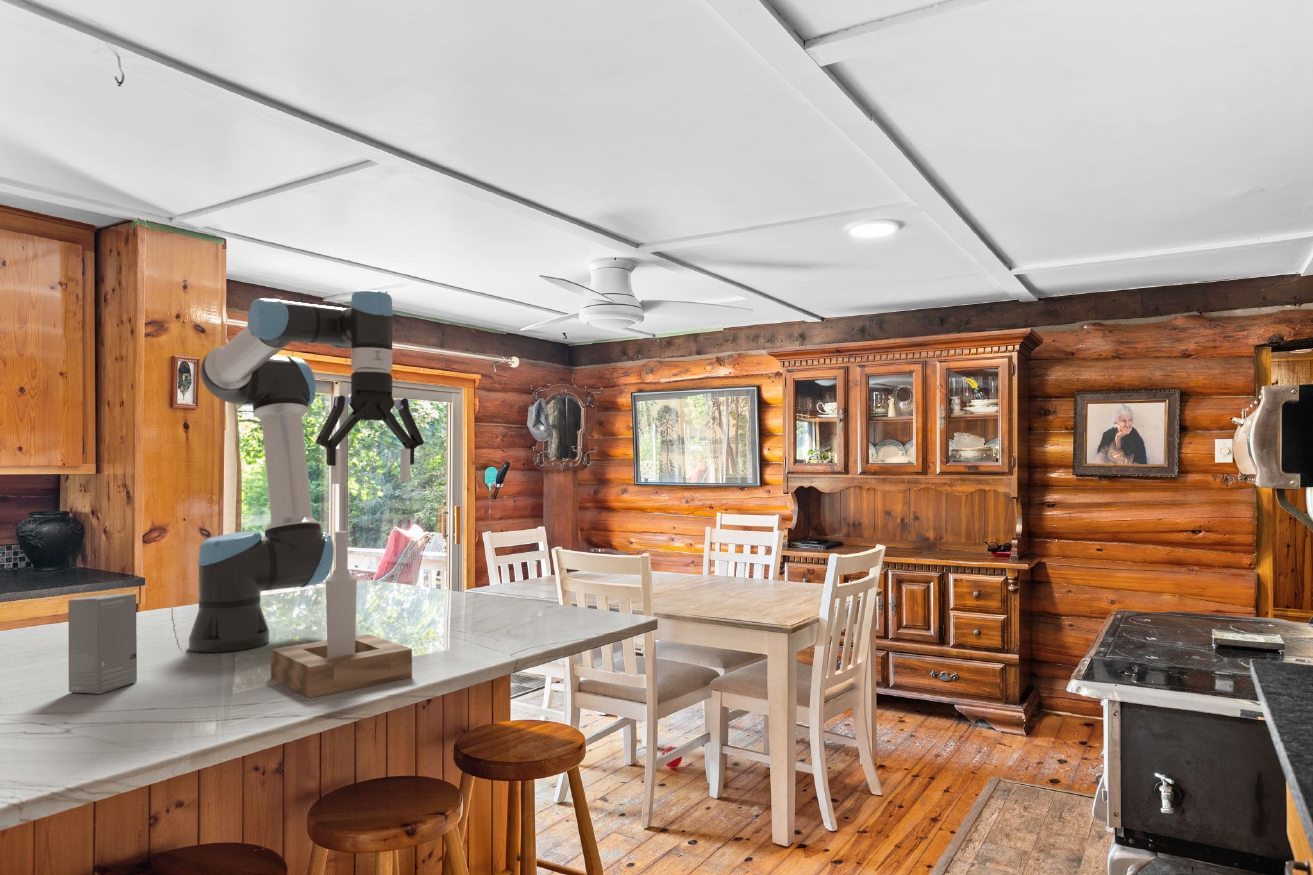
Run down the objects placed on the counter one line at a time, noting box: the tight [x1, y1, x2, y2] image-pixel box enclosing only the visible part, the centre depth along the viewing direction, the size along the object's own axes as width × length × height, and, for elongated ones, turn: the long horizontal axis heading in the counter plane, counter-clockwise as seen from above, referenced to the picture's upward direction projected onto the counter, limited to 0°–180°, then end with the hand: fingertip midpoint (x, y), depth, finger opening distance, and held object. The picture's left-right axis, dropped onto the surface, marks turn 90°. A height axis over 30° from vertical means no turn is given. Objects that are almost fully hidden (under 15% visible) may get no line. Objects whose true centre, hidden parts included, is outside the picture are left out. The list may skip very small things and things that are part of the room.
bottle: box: [325, 530, 358, 658], centre depth 148 cm, size 5×5×25 cm
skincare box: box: [67, 593, 138, 695], centre depth 143 cm, size 8×7×16 cm
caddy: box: [270, 633, 413, 699], centre depth 148 cm, size 18×18×5 cm
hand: (371, 483), depth 159 cm, fingers open, 13 cm apart
